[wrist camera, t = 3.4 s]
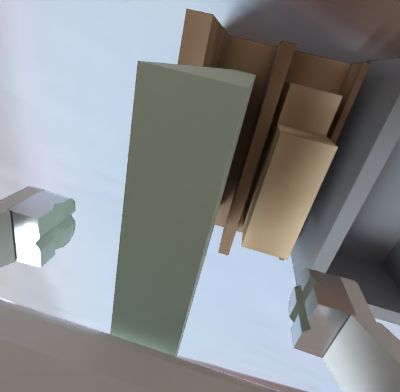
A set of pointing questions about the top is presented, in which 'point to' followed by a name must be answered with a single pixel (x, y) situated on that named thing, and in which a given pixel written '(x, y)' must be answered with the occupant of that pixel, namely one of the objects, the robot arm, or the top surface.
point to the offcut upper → (286, 189)
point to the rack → (261, 98)
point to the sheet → (173, 193)
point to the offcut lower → (300, 117)
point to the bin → (361, 198)
